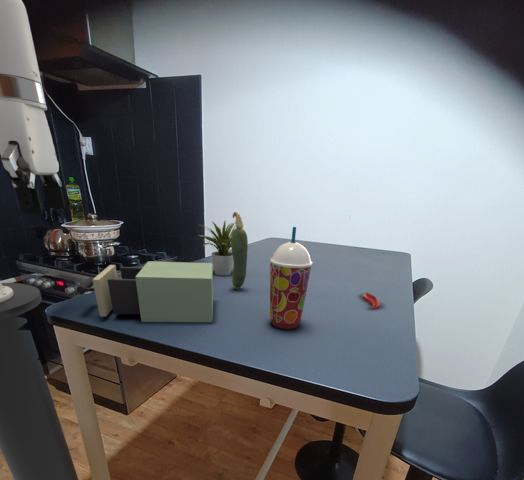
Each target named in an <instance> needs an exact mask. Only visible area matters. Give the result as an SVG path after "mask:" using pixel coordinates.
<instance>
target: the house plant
mask: <svg viewBox="0 0 524 480" xmlns="http://www.w3.org/2000/svg"><path fill="white" fill-rule="evenodd" d="M211 223H212V224H213V227H214V229H215V231H214V230H212V229H211V228H209V227H207V226H205V225H201V224H199V226H200V227H204V228H202V229H204V230H205V229H207V231H208V232H209V233H210V234H211V235H212V236H211V237H210V236H208V235H203V234H197V236H198V237H201V238H204V241H206V242H205V243H203V244H202V247H204V246H206V245H211V247H212V248H214V250H215V251H213V252H211V260H212V263H213V272H214V274H215V275H216V276H221V277H222V276H223V277H225V276H230V275H231V274H232V271H233V265H234V260H233V255H232V251H229V250H230V249H232V248H231V234H232V232H233V230H234V229H236V227H235V226H236V222H231V223H229V224H228V225H227V226H226V223H227V221H226V220H224V221H223V226H222V230H221V227H219V226H218V225H217V224H216V223H215V222H214V221H211ZM207 240H208V241H207Z"/></svg>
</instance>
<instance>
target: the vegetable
mask: <svg viewBox="0 0 524 480" xmlns="http://www.w3.org/2000/svg"><path fill="white" fill-rule="evenodd" d="M234 218H235V225H236V226H235V225H234V227H235V229H234V230H233V229H232V230H233V232H232V231H231V232H232V234H231V233H230V234H231V237H230V238H231V242H230V243H231V248H230V249H231V253H232V255H233V267H232V279H231V282H232V286H233V288H234V289H235V290H237V291H238V290H239V289H240V288H241V287H243V285H244V283H245V280H246V276H247V266H248V247H249V244H248V243H249V241H248V234H247V232H246V230H245V229H244V223H243V221H242V217H241V214H239V213H238V212H236V211H234V212H233V213H232V219H234Z"/></svg>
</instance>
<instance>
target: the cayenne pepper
mask: <svg viewBox="0 0 524 480" xmlns="http://www.w3.org/2000/svg"><path fill="white" fill-rule="evenodd" d="M362 299H363V300H364V301H365V302H367V303H369V304H370V305H371V306H372V307H370V310H376V309H379V308H380V307H381V302H380V300H378V298H377V297H376V296H375V295H373V294H370V293H369V292H365V294H364V293H363V294H362Z"/></svg>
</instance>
